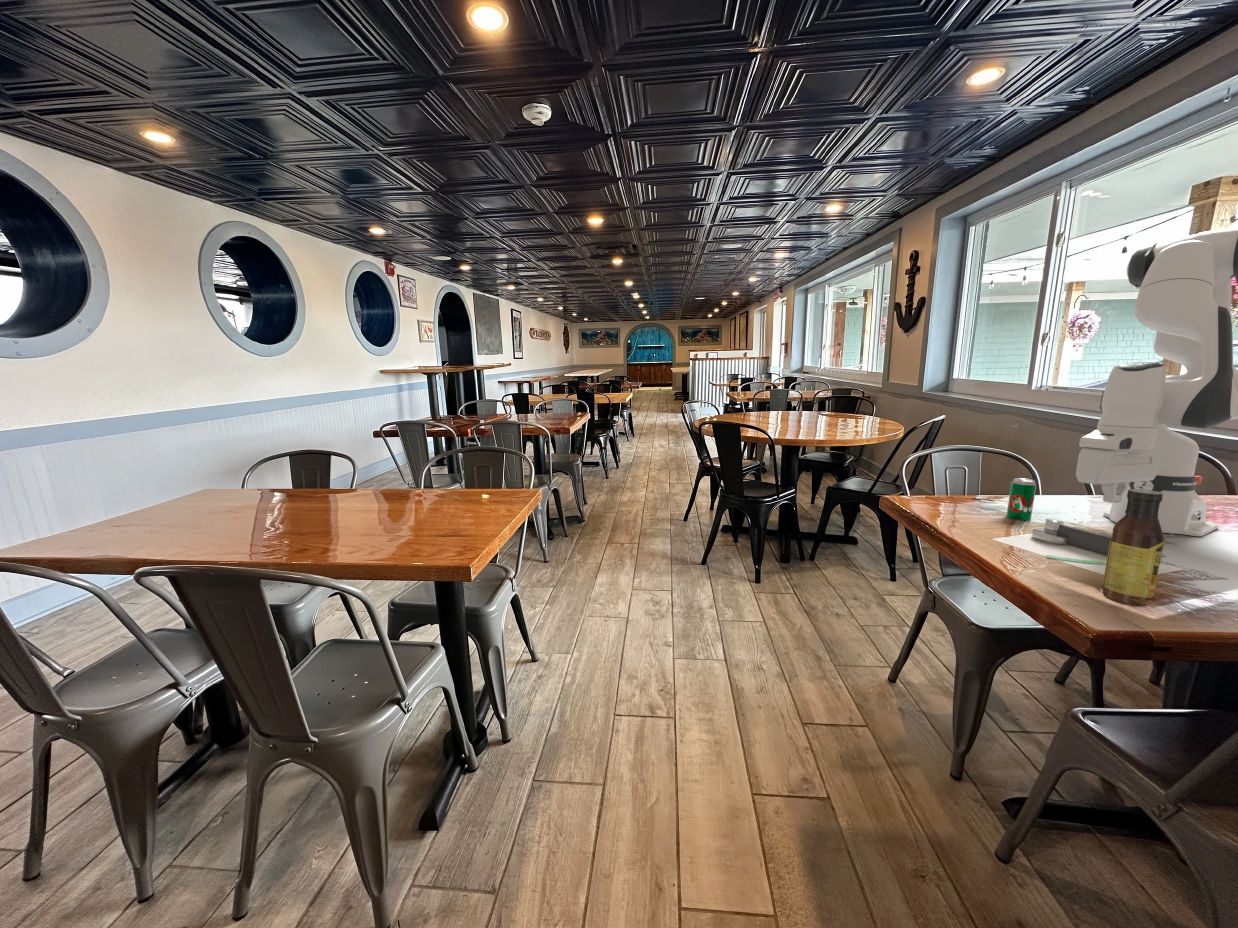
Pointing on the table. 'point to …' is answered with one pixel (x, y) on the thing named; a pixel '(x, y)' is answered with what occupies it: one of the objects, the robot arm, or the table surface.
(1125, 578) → the sauce bottle
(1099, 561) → the board
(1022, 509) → the soda can
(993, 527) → the table surface
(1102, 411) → the robot arm
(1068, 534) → the grey black long piece
